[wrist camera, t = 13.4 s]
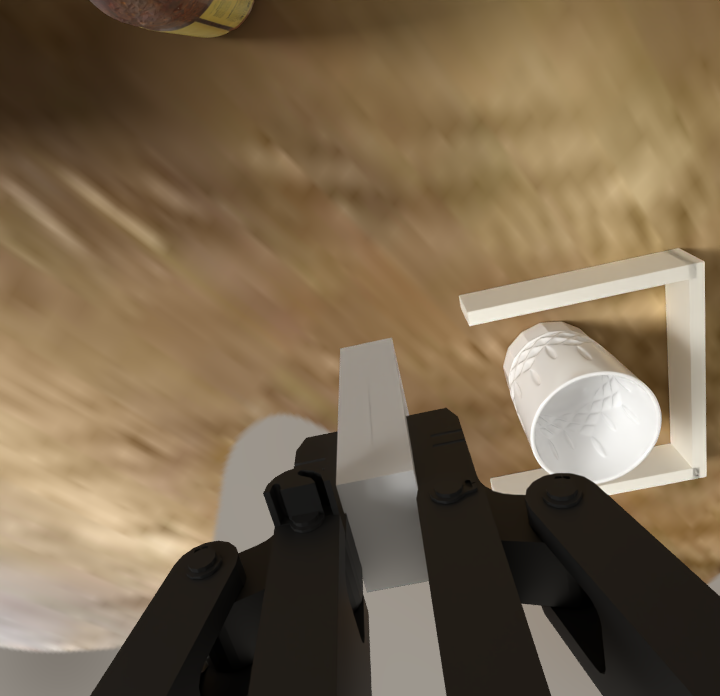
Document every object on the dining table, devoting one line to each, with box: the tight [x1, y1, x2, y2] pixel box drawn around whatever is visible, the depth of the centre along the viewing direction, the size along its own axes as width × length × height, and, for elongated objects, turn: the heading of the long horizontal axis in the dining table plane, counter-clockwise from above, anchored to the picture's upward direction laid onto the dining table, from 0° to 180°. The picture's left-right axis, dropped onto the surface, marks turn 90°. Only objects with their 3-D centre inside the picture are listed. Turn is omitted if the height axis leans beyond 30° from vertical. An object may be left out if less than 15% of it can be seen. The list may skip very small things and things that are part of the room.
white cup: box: [503, 321, 662, 484], centre depth 43 cm, size 8×8×10 cm
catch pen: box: [459, 248, 706, 495], centre depth 46 cm, size 16×17×4 cm
